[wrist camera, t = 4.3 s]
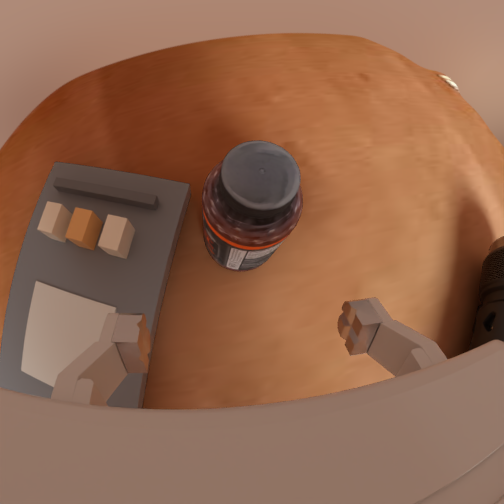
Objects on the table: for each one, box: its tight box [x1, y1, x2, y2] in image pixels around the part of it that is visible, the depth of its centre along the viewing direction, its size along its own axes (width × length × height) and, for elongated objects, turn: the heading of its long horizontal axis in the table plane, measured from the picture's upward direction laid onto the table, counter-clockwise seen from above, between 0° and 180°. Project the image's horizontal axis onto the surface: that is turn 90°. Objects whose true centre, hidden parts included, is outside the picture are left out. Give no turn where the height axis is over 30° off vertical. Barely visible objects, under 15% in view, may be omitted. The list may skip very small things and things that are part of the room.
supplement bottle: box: [202, 140, 303, 271], centre depth 19 cm, size 6×6×11 cm
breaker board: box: [0, 162, 191, 409], centre depth 19 cm, size 22×14×4 cm, turn 169°
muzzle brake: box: [469, 236, 504, 351], centre depth 20 cm, size 10×28×10 cm, turn 154°
